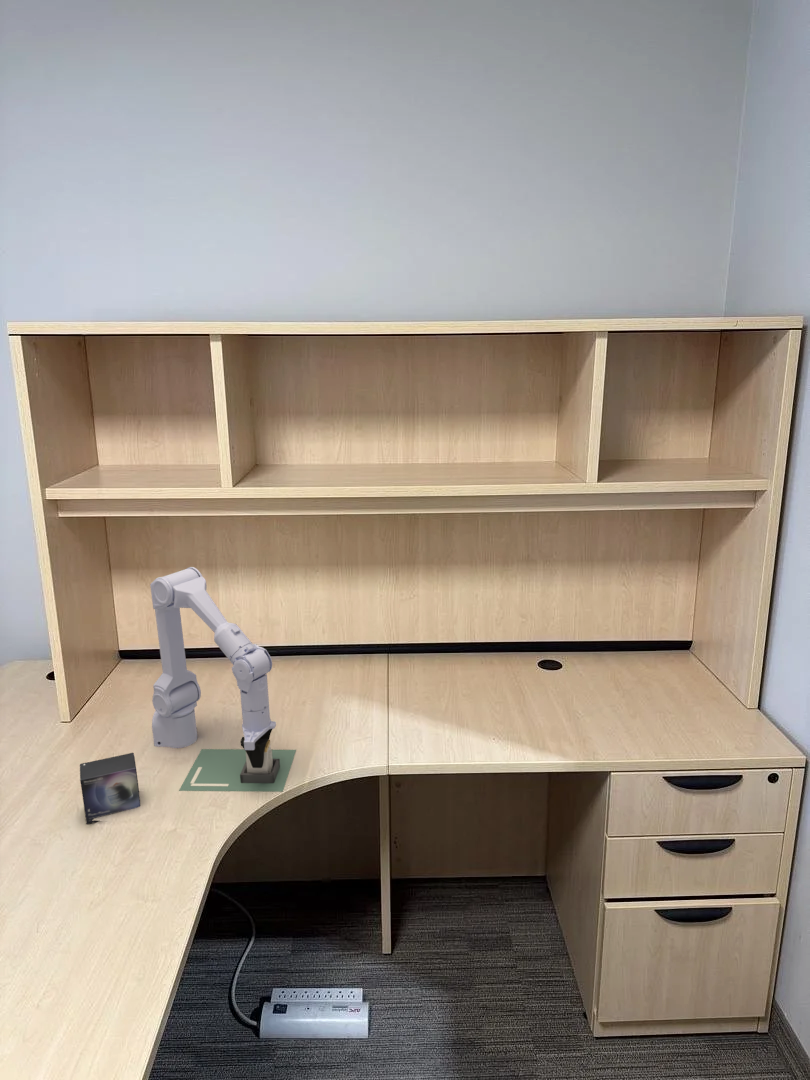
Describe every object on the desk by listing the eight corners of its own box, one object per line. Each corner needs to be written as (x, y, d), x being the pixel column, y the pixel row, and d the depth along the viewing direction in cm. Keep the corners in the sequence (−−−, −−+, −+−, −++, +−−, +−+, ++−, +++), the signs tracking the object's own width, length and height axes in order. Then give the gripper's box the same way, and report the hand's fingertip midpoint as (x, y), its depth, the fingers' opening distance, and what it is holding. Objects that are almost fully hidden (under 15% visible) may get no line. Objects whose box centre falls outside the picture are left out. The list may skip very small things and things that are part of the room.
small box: (85, 826, 146) (78, 780, 144) (85, 807, 152) (78, 763, 149) (142, 812, 150) (136, 767, 148) (139, 794, 156) (133, 751, 153)
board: (179, 795, 156) (177, 782, 155) (202, 753, 171) (200, 741, 170) (283, 796, 155) (282, 783, 154) (296, 754, 170) (295, 741, 169)
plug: (247, 776, 159) (245, 748, 157) (251, 767, 162) (249, 739, 160) (270, 776, 159) (268, 748, 157) (274, 767, 162) (272, 740, 160)
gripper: (266, 722, 149) (270, 781, 152) (280, 689, 163) (284, 743, 166) (231, 722, 149) (237, 781, 153) (249, 688, 163) (253, 743, 167)
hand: (259, 761), depth 160 cm, fingers closed on plug, 3 cm apart
